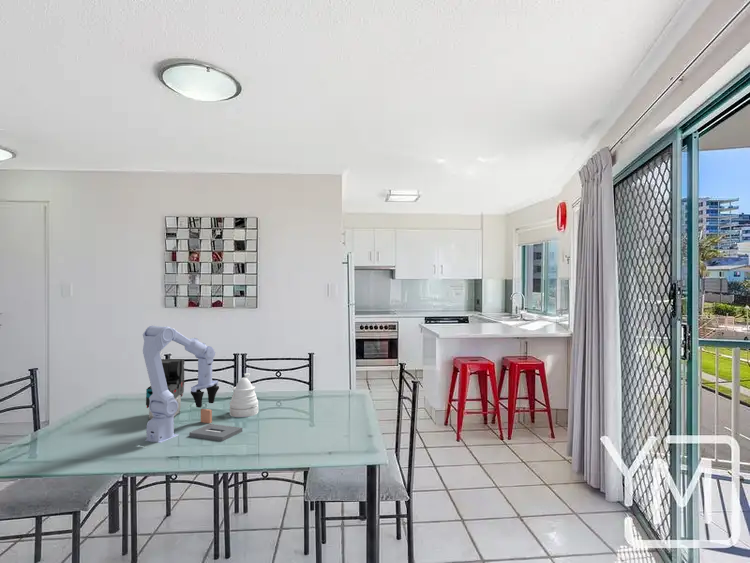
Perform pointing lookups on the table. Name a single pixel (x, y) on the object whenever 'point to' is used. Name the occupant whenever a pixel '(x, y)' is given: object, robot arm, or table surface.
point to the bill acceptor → (171, 381)
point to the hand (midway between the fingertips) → (205, 405)
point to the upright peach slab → (206, 416)
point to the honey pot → (244, 399)
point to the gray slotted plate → (215, 432)
